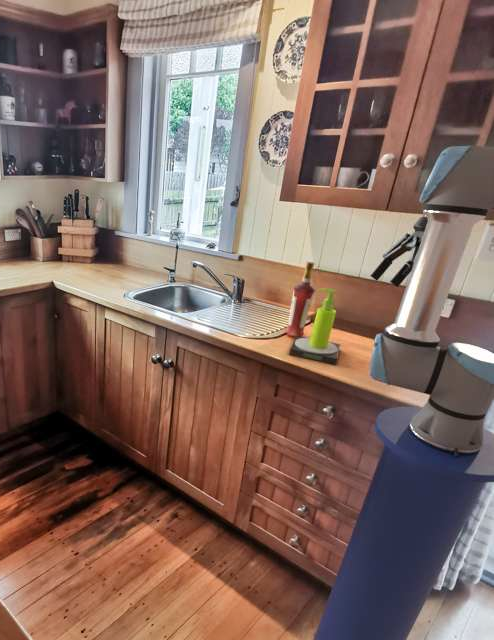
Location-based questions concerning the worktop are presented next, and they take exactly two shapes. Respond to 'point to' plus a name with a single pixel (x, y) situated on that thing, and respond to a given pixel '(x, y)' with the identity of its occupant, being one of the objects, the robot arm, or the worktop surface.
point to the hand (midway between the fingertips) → (383, 281)
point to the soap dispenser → (323, 322)
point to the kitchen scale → (314, 351)
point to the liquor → (301, 304)
